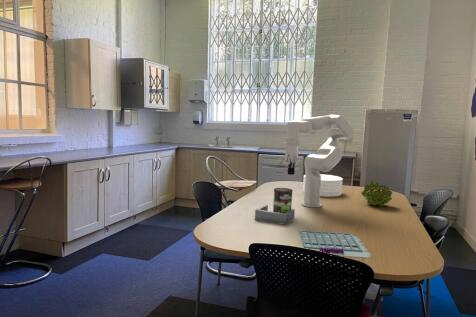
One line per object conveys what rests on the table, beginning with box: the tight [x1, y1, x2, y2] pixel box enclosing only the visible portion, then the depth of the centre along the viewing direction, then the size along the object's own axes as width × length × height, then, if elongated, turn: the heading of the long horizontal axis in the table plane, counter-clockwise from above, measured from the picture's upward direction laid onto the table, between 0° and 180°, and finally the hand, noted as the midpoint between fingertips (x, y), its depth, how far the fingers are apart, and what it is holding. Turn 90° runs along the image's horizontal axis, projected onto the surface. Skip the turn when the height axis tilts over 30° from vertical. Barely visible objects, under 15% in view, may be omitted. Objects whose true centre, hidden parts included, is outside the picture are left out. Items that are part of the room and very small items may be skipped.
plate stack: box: [302, 173, 344, 197], centre depth 267 cm, size 28×28×12 cm
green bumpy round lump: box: [360, 180, 393, 207], centre depth 231 cm, size 18×16×16 cm
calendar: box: [299, 230, 373, 259], centre depth 156 cm, size 27×28×2 cm
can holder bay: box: [254, 204, 296, 225], centre depth 192 cm, size 14×17×5 cm
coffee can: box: [272, 187, 293, 214], centre depth 201 cm, size 10×10×14 cm
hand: (290, 174), depth 210 cm, fingers closed
